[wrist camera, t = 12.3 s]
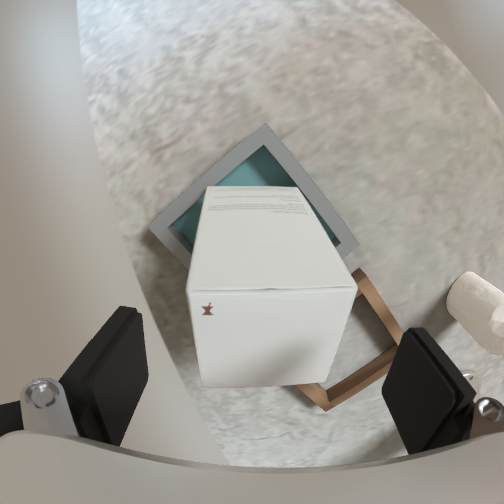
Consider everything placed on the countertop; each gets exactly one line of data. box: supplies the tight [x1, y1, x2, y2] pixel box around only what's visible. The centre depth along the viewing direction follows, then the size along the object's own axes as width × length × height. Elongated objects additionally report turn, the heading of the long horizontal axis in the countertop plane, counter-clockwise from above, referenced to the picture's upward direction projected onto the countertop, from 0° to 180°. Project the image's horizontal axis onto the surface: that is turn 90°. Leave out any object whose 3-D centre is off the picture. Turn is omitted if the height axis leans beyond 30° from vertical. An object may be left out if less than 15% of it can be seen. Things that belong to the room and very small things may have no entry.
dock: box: [148, 123, 360, 271], centre depth 25 cm, size 12×12×2 cm
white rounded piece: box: [446, 271, 504, 355], centre depth 23 cm, size 6×12×6 cm
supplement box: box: [186, 186, 358, 388], centre depth 19 cm, size 7×7×13 cm
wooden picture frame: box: [295, 268, 403, 412], centre depth 29 cm, size 12×12×2 cm
